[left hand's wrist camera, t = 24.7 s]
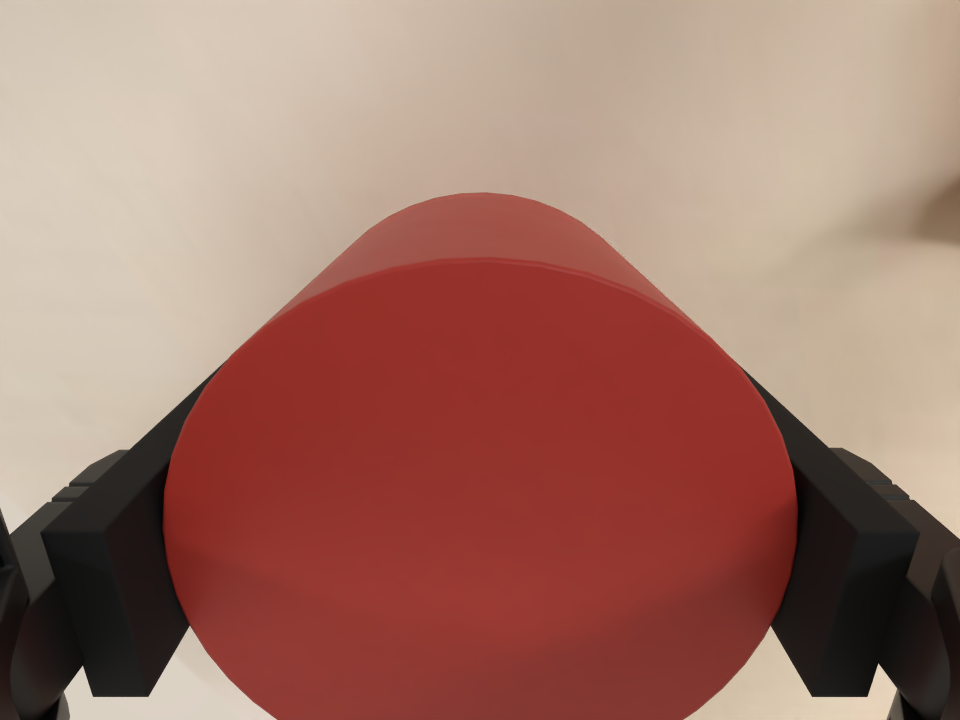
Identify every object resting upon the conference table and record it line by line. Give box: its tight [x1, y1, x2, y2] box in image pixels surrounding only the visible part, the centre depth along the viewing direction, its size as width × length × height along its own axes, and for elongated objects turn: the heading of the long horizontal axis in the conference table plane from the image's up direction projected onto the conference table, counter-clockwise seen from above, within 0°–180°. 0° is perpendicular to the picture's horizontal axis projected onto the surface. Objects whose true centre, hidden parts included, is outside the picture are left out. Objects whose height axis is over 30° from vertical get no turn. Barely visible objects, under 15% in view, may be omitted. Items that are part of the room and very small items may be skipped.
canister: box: [163, 193, 798, 720], centre depth 12 cm, size 9×9×8 cm
